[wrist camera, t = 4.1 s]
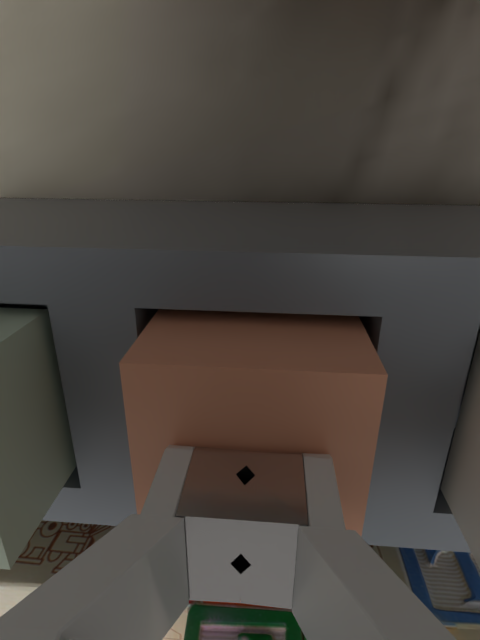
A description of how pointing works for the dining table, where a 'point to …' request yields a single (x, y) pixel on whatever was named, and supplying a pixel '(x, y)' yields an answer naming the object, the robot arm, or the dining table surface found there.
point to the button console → (256, 296)
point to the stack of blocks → (254, 620)
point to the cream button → (466, 463)
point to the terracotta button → (256, 392)
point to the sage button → (29, 428)
